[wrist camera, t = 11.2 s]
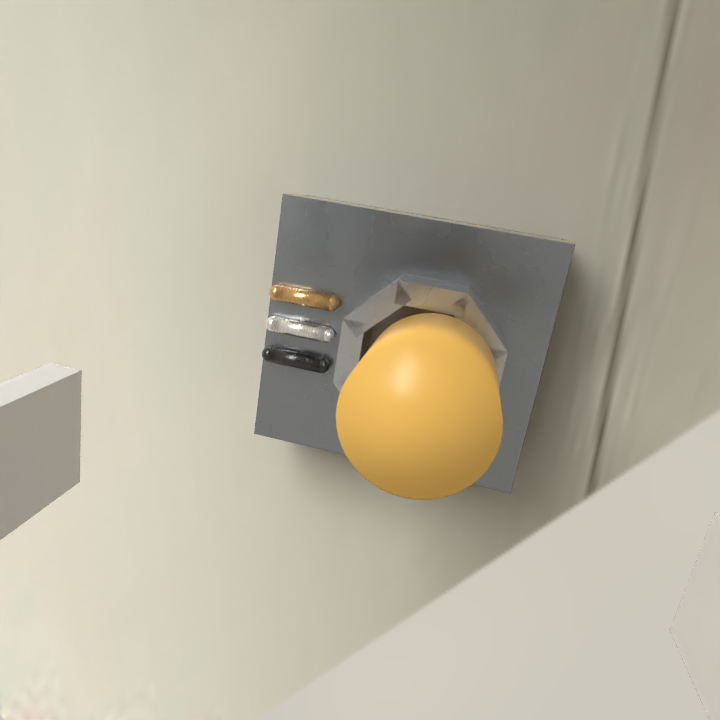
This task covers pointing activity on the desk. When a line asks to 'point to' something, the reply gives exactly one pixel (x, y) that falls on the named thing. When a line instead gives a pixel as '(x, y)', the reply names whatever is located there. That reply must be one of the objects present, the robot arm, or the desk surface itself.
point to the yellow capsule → (422, 408)
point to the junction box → (400, 309)
